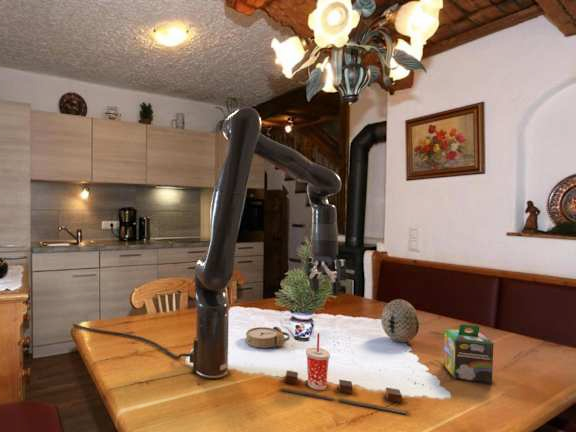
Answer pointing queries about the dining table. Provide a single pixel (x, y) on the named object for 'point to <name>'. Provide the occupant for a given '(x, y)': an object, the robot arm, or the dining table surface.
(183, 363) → the dining table surface
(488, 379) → the chalk box
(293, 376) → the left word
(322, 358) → the beverage cup
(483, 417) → the dining table surface
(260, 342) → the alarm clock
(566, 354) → the dining table surface
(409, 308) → the decorative egg
